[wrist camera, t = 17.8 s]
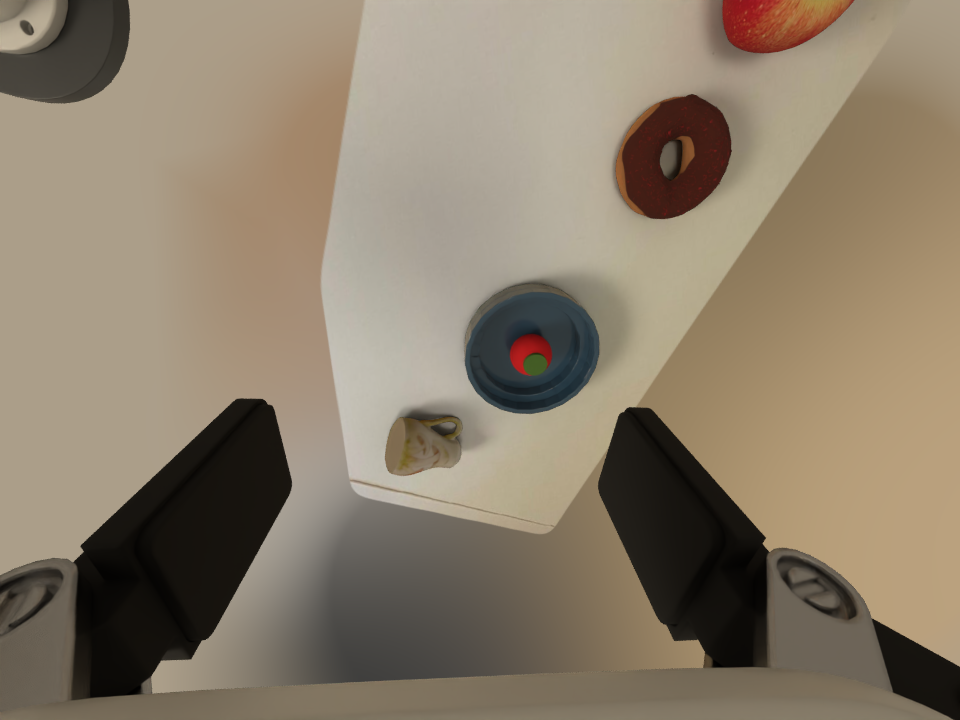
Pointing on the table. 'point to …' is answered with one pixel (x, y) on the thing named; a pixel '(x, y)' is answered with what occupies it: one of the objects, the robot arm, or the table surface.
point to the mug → (421, 446)
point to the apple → (778, 22)
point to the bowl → (520, 316)
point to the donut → (700, 158)
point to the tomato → (531, 354)
